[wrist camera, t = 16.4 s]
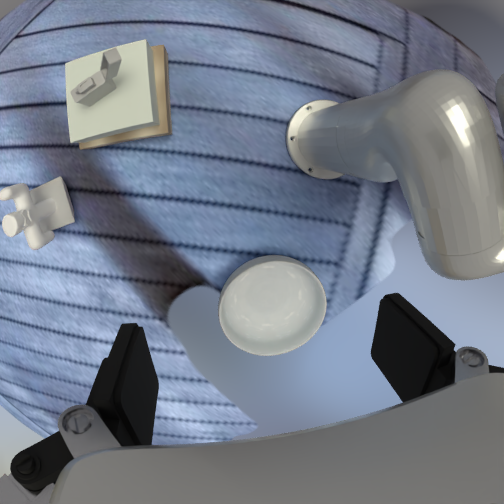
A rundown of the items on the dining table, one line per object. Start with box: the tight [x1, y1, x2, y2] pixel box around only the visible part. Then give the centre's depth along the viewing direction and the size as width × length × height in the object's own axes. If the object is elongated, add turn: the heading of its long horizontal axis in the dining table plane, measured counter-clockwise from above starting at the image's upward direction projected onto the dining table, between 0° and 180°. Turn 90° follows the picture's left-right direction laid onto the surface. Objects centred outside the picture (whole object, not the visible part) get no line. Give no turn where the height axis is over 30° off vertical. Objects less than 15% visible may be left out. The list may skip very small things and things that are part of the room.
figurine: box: [0, 177, 75, 250], centre depth 34 cm, size 7×9×15 cm
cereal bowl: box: [218, 255, 327, 356], centre depth 48 cm, size 17×17×7 cm
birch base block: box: [79, 45, 172, 149], centre depth 36 cm, size 13×13×5 cm
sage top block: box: [65, 39, 160, 143], centre depth 31 cm, size 11×11×5 cm
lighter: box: [71, 48, 122, 106], centre depth 25 cm, size 7×2×8 cm, turn 117°
